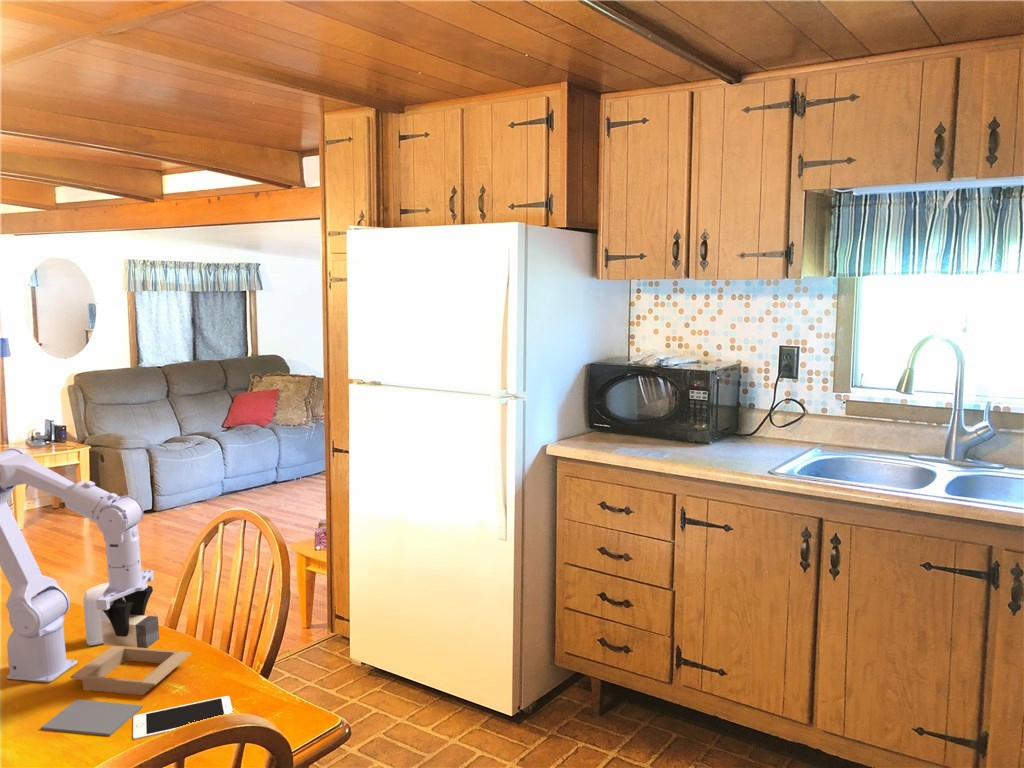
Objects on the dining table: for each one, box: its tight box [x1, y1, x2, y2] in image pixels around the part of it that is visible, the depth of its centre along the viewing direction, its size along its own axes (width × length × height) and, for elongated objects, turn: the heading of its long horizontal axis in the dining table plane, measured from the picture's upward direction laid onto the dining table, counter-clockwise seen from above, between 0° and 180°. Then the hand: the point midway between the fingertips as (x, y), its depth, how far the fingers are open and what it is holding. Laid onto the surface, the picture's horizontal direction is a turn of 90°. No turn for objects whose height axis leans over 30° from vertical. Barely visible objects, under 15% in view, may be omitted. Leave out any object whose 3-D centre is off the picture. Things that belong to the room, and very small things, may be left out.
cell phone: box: [132, 695, 234, 740], centre depth 144 cm, size 8×16×1 cm, turn 114°
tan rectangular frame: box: [70, 645, 192, 696], centre depth 158 cm, size 17×12×2 cm
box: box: [102, 615, 160, 649], centre depth 156 cm, size 9×4×4 cm, turn 81°
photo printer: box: [82, 581, 126, 646], centre depth 173 cm, size 10×4×12 cm, turn 123°
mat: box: [40, 699, 143, 737], centre depth 143 cm, size 13×9×1 cm
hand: (129, 630), depth 156 cm, fingers closed on box, 4 cm apart
